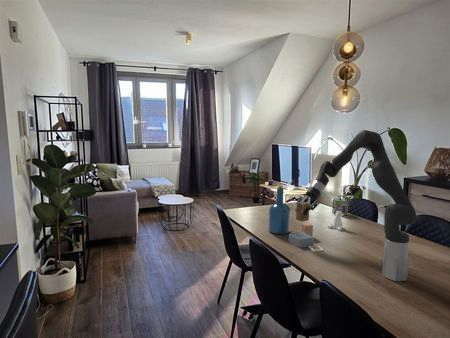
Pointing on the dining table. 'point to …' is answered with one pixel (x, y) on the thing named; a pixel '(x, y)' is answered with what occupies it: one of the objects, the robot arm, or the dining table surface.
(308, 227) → the terracotta block
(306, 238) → the plinth
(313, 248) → the tile
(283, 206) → the wine bottle
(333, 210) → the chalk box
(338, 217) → the white creature statuette
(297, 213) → the walnut block
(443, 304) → the dining table surface
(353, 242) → the dining table surface
